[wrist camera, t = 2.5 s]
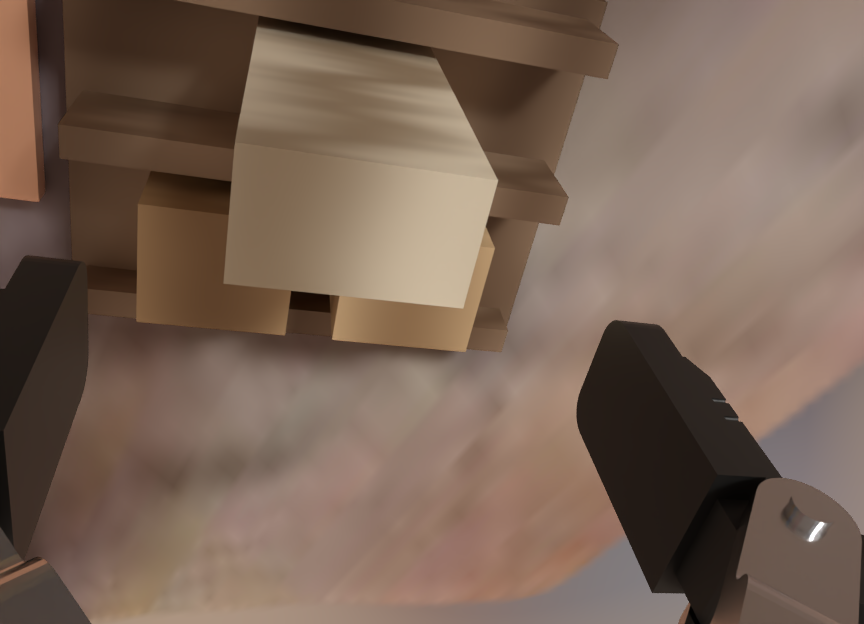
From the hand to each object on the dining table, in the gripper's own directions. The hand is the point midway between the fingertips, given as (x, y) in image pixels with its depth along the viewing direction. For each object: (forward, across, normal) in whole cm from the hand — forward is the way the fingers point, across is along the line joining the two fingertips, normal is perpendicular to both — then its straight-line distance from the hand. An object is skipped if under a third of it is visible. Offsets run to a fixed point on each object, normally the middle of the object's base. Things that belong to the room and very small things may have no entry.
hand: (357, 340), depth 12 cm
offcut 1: (+15, +3, +6) cm, 16 cm away
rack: (+16, 0, +3) cm, 16 cm away
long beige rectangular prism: (+15, 0, 0) cm, 15 cm away
